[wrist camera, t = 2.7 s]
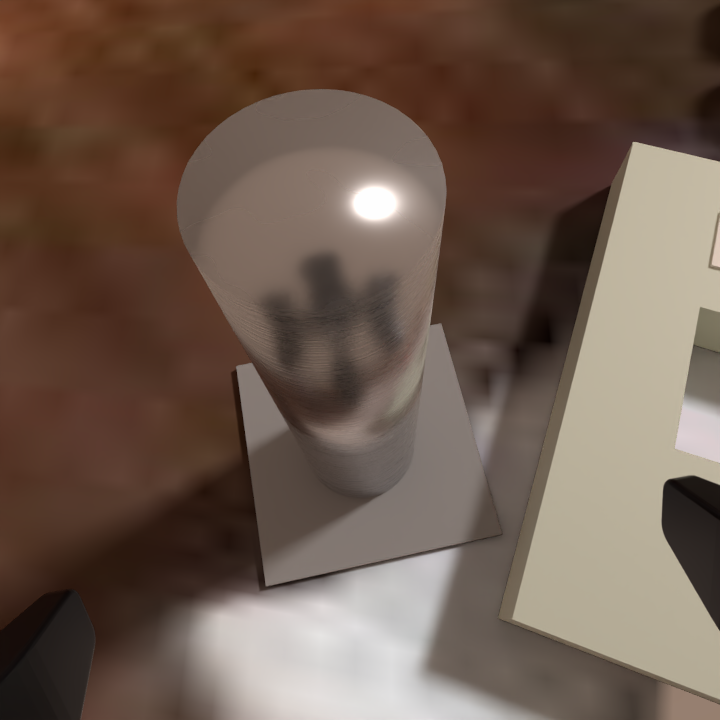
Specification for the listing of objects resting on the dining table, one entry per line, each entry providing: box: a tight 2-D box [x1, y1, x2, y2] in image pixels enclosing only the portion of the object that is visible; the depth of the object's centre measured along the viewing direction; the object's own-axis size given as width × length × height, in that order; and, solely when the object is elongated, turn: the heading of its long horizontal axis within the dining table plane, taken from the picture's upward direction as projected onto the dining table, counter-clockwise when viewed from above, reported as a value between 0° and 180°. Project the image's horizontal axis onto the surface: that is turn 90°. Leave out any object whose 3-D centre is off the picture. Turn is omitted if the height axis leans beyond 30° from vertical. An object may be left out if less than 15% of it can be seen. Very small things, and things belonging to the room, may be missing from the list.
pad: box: [236, 324, 502, 586], centre depth 21 cm, size 8×8×1 cm
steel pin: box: [177, 89, 446, 498], centre depth 15 cm, size 4×4×14 cm
